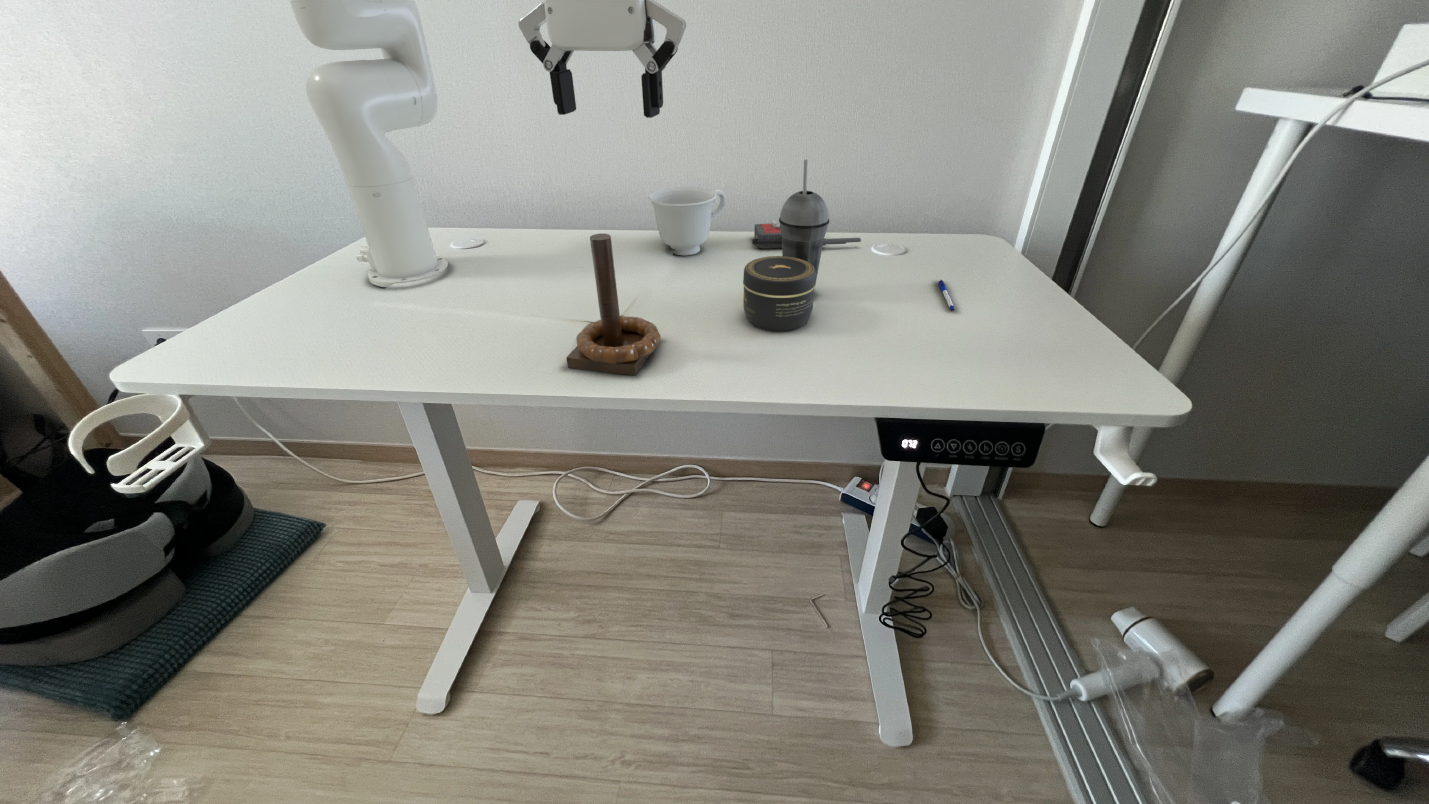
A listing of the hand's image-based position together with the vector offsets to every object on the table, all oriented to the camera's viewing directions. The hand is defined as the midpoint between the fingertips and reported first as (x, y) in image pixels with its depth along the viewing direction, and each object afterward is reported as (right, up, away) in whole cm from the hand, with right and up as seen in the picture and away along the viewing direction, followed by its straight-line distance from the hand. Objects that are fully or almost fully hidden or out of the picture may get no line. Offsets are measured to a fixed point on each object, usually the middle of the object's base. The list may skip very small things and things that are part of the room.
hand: (609, 114), depth 62 cm
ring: (-1, -23, +12) cm, 26 cm away
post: (-2, -24, +14) cm, 28 cm away
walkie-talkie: (+28, -1, +49) cm, 56 cm away
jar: (+20, -19, +22) cm, 35 cm away
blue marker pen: (+47, -15, +28) cm, 56 cm away
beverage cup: (+24, -14, +29) cm, 40 cm away
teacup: (+7, -2, +47) cm, 48 cm away
